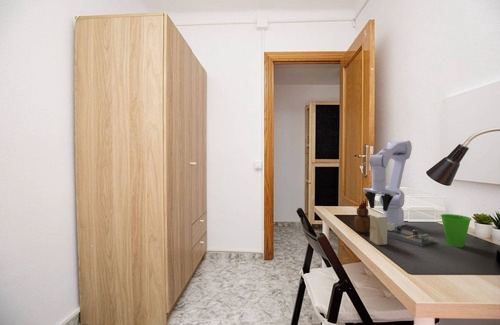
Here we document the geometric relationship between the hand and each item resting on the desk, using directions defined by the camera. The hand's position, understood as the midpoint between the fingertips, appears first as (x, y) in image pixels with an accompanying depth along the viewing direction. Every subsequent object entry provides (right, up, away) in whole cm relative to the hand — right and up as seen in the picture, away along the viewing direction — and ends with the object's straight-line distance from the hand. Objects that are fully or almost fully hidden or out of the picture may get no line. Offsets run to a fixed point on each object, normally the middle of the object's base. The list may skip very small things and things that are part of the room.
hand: (378, 209), depth 108 cm
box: (-8, -11, -15) cm, 20 cm away
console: (+5, -10, -9) cm, 14 cm away
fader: (+3, -8, -5) cm, 10 cm away
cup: (+20, -10, -18) cm, 29 cm away
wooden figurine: (-8, -10, -1) cm, 13 cm away
